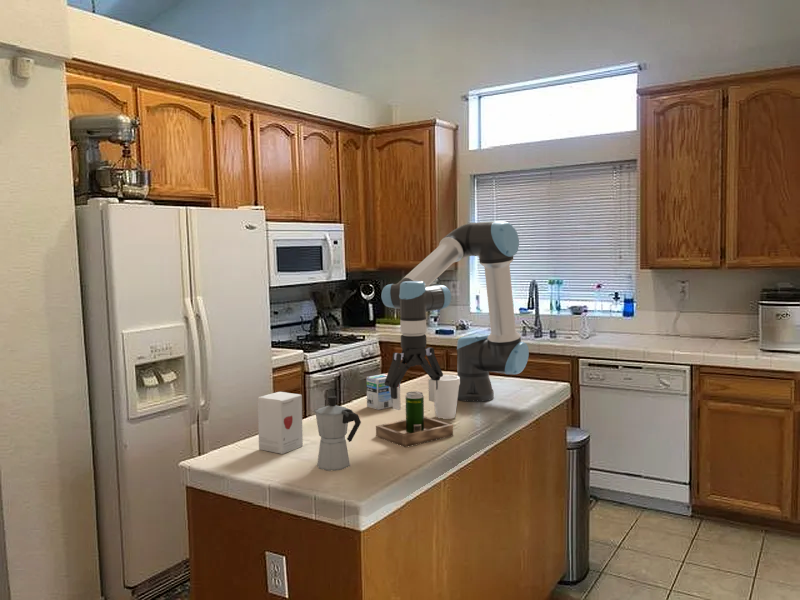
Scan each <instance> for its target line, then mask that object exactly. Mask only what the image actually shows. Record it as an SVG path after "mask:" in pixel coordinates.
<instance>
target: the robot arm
mask: <svg viewBox="0 0 800 600" xmlns="http://www.w3.org/2000/svg"><path fill="white" fill-rule="evenodd" d="M519 246H520V237H519V235H518V231H517V230H516V228H515V226H513V224H512V223H510V222H507V221H497V220H496V221H494V220H493V221H481V222H480V221H479V222H468V223H465V224H463V225H462V224H461V226H458V227H457V228H455V229H453V230H452V231H451V232H449V233H448V234H447V235H445V236H444V237H443V238H442V239H441V240H440V241H439V244H438V246H437V247H436V248H435V249H434V250H432V252H431V253H429V254H428V255H427V256H426V257H425V258H423V260H422V261H420V262H419V264H417V265H416V266H414V268H413V269H411V271H409V272H408V273H407V274H406V275H405V276H404V277H402V279H401V280H399V281H398V282H397V283H390V284H387V285H384V286H383V288H382V291H381V301H382V303H383V305H384V307H387V308H393V309H399V311H400V317H399V319H400V323H399V324H400V333H401V335H400V347H401V353H399V352H393V353H392V361H391V363H390V367H389V369H388V372H387V373H388V374H387V377H386V380H385V383H384V384H385V385H386V386H389V387H390V388H391V398H393V407H392V409H393V410H396V411H401V410H402V409H401V405H402V403H401V387H400V388H399V387H398V385H399V384H400V385H401V382H402V380H403V379H404V376H405V375H406V373H407V371H408V370H409V369H410V368H411V367H416V366H421V368H422V369H423V370H424V371H425V373H426V374H427V375H428V377H429V379H428V380H427V382H428V401H429V402H433V403H434V402H437V401H436V390H437V389H438V380H440V377H442V376H443V375H444V374H443V371H442V369H441V367H440V364H439V362H438V360H437V357H436V354H435V348H433V347H429V346H427V335H426V333H427V315H426V314H427V313H426V312H433V311H440V310H441V311H442V310H444V309H446V308H448V307H449V306H450V304H451V303H452V292H451V291H450V289H449V288H448V287H447V286H446V285H444V284H443V285H442V284H434V285H431V284H432V283H434V281H436V280H437V279H438V278H439V277H440V276H441V275H442V274H443V273H444V272H445V271H447V269H448V268H450V266H451V265H453V264H454V263H457V262H460V261H461V260H462V259H464V258H467V257H478V261H479V264H480V265H482V266H483V268H484V274H485V275H484V276H485V285H486V295H487V304H488V305H487V306H488V315H489V316H488V317H489V322H490V323H489V324H490V334H485V333H484V334H475V335H474V334H473V335H465V336H461V337H459V338H458V339H457V343H456V357H457V358H456V363H457V365H456V368H457V372H456V373H457V375H456V376H458V377H460V385H459V390H458V399H457V401H462V402H486V401H491V400H493V399H494V398H495V397H494V395H495V394H494V393H495V391H494V389H493V385H492V382H491V379H490V372H491V373H498V374H505V375H518V374H520V373H522V372H523V371H524V369H525V368H526V366H527V363H528V360H529V356H530V355H529V354H530V353H529V352H530V351H529V346H528V344H527V342H524V341H522V339H521V338H522V336H521V334H520V333H519V332H518V331H517V329H516V320H515V311H514V310H515V309H514V300H513V299H514V298H513V288H512V278H511V263H512V262H513V261H514V256H515V255H516V254H517V253H518V252H519ZM426 357H427V358H426Z"/></svg>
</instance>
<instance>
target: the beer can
mask: <svg viewBox="0 0 800 600" xmlns="http://www.w3.org/2000/svg"><path fill="white" fill-rule="evenodd" d="M424 397H425V396H424V393H423V392H421V391H408V392H406V395H405V419H406V432H407V434H410V433H414V432H419V431H423V430H424V416H425V412H424V411H425V409H424V408H425V407H424V406H425V404H424V403H425V402H424V401H425V400H424Z"/></svg>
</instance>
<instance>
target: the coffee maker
mask: <svg viewBox="0 0 800 600" xmlns="http://www.w3.org/2000/svg"><path fill="white" fill-rule="evenodd" d="M327 401H328V405H326V406H323V407H318V408H314V409H312V411H313V412H314V413H315V417H316V418H315V420H316V423H317V425H316V426H317V431H318V436H319V437H320V442H319V447H318V449H319V450H318V458H317V462H316V463H317V467H318V469H319V470H323V469H324V471H329V472H332V471H331V470H333V471H341V470H342V469H343V470H345V469H346V467H347V468H349V467H351V463H350V457H349V451H348V450H349V449H348V446H347V441H348V443H350V442H353V441H352V440H353V438H354V436H355V435H356V433H357V431H358V429H359V427H360V425H361V424H362V421H361V418H360V416H359V415H358V414H357V413H356V412H354V410H352V409H350V408H347V407H345V406H341V405H337V396H336V395H330V396H327ZM351 422H354V425H353V427H352V428H351V430H350V433H349V434H348V425H349V424H350V423H351ZM347 434H348V436H347V437H346V435H347ZM346 440H347V441H346ZM348 466H349V467H348ZM344 468H345V469H344Z"/></svg>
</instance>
